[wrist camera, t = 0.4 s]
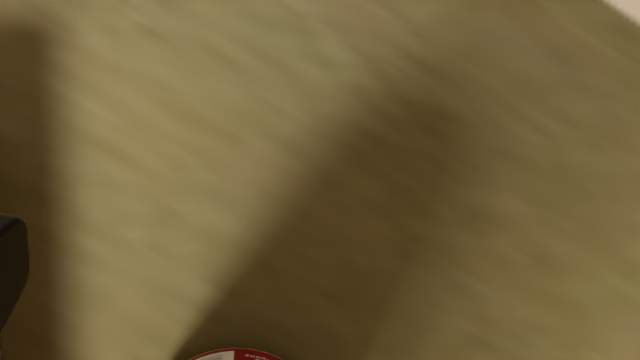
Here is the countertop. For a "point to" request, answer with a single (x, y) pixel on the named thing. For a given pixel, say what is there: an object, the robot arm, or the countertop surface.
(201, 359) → the soda can
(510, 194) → the countertop surface
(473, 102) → the countertop surface
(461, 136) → the countertop surface
